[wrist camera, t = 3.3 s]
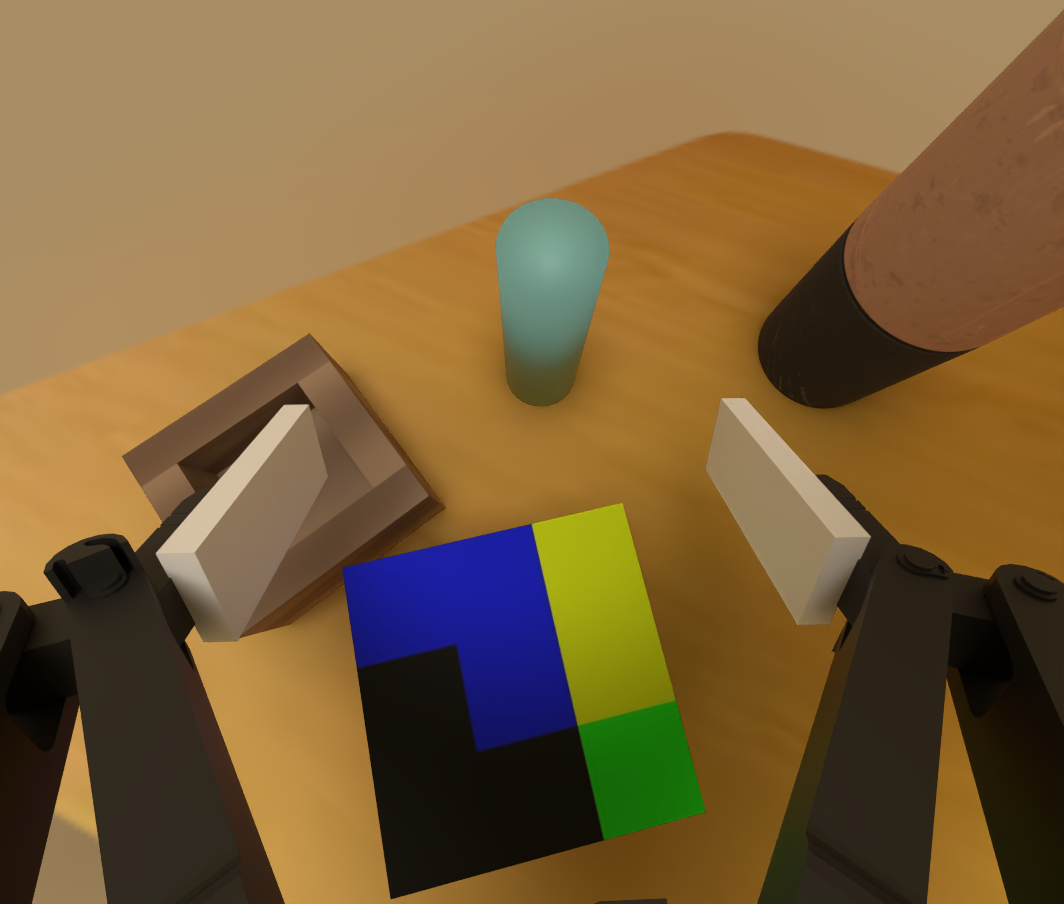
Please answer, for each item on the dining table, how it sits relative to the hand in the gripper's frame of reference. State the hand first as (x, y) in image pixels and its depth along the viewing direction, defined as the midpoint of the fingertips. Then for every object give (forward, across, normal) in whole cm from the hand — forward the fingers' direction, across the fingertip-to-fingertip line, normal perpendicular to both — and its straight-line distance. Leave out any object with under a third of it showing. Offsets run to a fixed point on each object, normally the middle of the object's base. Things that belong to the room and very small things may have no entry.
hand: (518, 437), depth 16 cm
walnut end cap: (+8, -11, -8) cm, 16 cm away
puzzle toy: (+3, 0, -14) cm, 14 cm away
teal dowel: (+13, +1, -3) cm, 14 cm away
